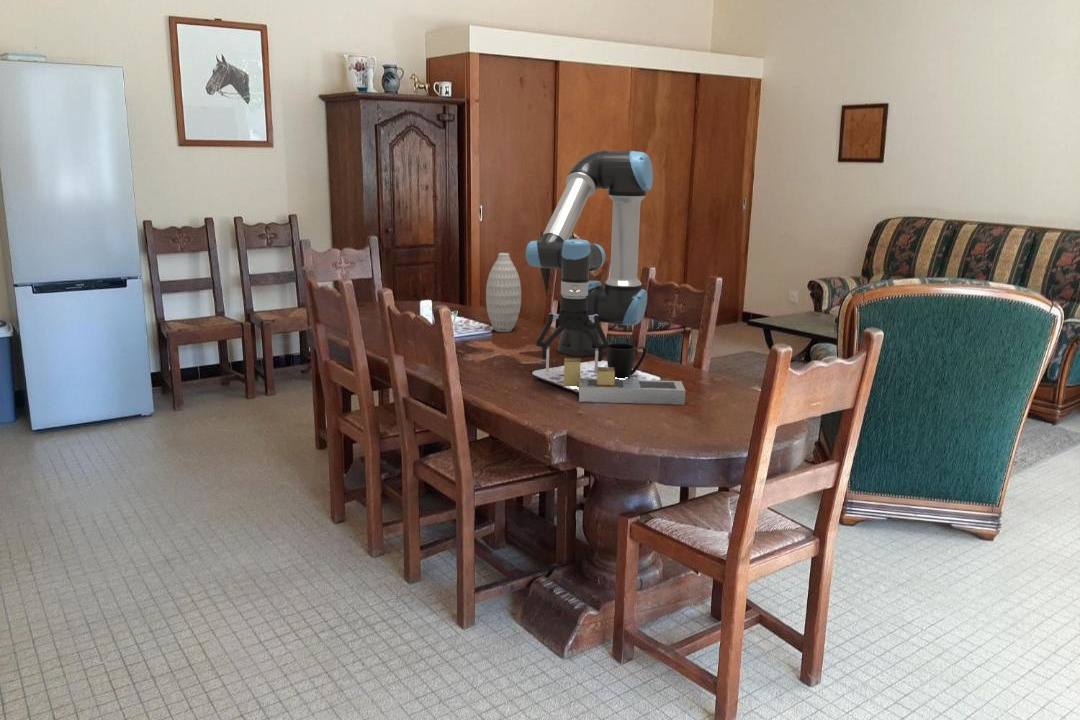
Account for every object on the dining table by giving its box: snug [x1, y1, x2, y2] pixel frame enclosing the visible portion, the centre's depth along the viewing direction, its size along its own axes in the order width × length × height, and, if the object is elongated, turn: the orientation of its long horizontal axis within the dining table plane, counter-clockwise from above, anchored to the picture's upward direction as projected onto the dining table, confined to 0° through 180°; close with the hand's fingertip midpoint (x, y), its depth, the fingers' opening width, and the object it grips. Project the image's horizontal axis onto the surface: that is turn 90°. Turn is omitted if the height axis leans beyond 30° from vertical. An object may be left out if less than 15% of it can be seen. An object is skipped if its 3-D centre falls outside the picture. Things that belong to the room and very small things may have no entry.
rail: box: [578, 377, 687, 406], centre depth 232 cm, size 9×28×4 cm, turn 88°
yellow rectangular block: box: [563, 357, 582, 387], centre depth 241 cm, size 4×4×8 cm
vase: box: [485, 252, 522, 333], centre depth 310 cm, size 13×13×28 cm
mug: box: [606, 342, 647, 378], centre depth 253 cm, size 8×12×10 cm
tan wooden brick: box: [596, 366, 615, 387], centre depth 232 cm, size 4×4×8 cm
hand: (571, 371), depth 240 cm, fingers open, 13 cm apart
